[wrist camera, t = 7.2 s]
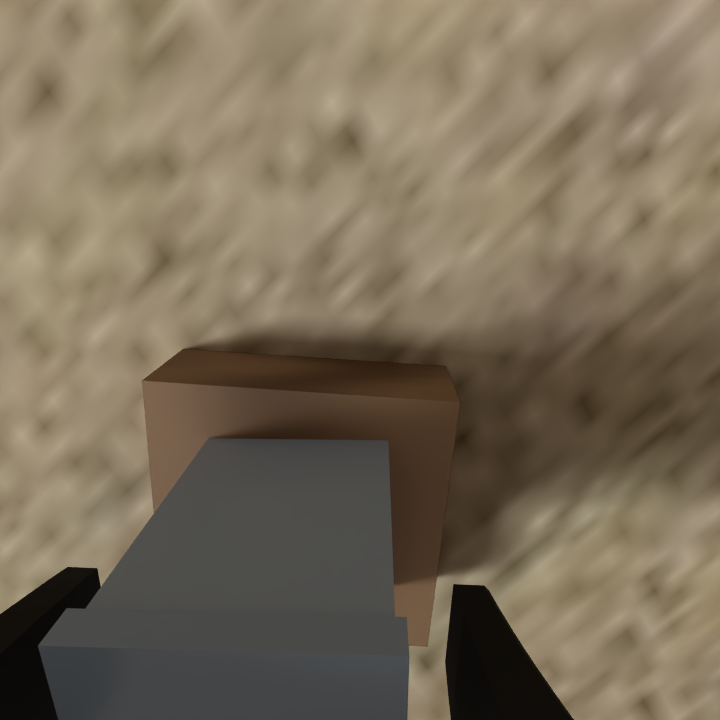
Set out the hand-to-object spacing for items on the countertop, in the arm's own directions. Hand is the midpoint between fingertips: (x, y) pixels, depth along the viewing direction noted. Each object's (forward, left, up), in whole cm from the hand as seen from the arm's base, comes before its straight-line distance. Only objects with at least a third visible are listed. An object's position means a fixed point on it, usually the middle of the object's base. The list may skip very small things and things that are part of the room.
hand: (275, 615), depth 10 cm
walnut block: (0, 0, -6) cm, 6 cm away
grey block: (0, 0, -3) cm, 3 cm away
